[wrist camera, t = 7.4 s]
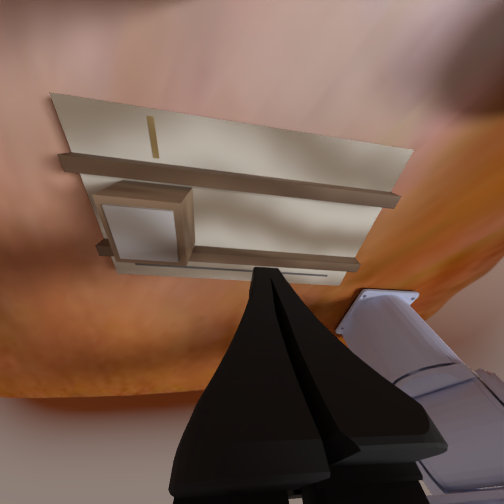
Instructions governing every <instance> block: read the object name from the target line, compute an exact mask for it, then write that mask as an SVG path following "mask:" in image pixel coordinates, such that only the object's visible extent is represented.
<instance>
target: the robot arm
mask: <svg viewBox="0 0 504 504" xmlns="http://www.w3.org/2000/svg"><path fill="white" fill-rule="evenodd" d="M418 296H419V293H418V292H416V291H397V290H378V289H363V290H362V291H361V292H360V294H359V295H358V297H357V298H356V300H355V301H354V303H353V304H352V306H351V307H350V309H349V310H348V312H347V313H346V315H345V316H344V318H343V319H342V321H341V323H340V324H339V326H338V327H337V329H336V330H335V331H336V333H337V334H342V335H343V337H344V339H345V341H346V343H347V346H348V348H347V347H346V346H345V345H344V344H343V343H342V342H341V341H340V340H338V339H337V338H336V337H335V336H334V335H333V334H332V333H331V332H330V331H329V330H328V329H327V328H326V327H325V326H324V325H323V324H322V323H321V322H320V321H319V320H318V319H317V318H316V317H315V315H314V314H313V313H312V312H311V311H310V310H309V309H308V307H307V306H306V305H305V304H304V303H303V301H302V300H301V299H300V298H299V296H298V295H297V294H296V292H295V291H294V290H293V288H292V287H291V286H290V284H289V283H288V282H287V280H286V279H285V277H284V276H283V274H282V273H281V271H280V270H279V269H278V268H270V267H254V268H253V273H252V279H251V285H250V290H249V300H248V303H247V306H246V309H245V312H244V314H243V317H242V319H241V322H240V324H239V327H238V329H237V331H236V333H235V335H234V337H233V340H232V342H231V344H230V346H229V348H228V350H227V352H226V354H225V355H224V357H223V359H222V361H221V363H220V365H219V367H218V368H217V370H216V372H215V374H214V376H213V377H212V379H211V381H210V382H209V384H208V386H207V387H206V389H205V391H204V392H203V394H202V396H201V397H200V399H199V401H198V403H197V404H196V406H195V409H194V411H193V414H192V416H191V418H190V421H189V423H188V424H187V427H186V429H185V431H184V433H183V436H182V438H181V440H180V443H179V445H178V448H177V451H176V454H175V458H174V461H173V467H172V473H171V478H170V484H169V489H168V490H169V492H170V494H171V495H172V496H173V497H174V501H173V504H289V500H288V499H294V498H302V500H303V504H504V382H503V381H502V380H501V379H500V378H499V377H498V376H497V375H496V374H495V373H492V372H489V371H485V370H484V369H482V368H479V369H477V370H475V372H476V373H477V374H478V375H477V374H476V373H475V372H474V371H472V370H471V369H470V368H469V367H468V366H467V365H465V364H464V363H463V362H462V361H461V360H460V358H459V357H457V355H456V354H455V353H454V352H453V351H452V350H451V349H450V348H449V347H448V346H447V345H446V344H445V343H444V342H443V340H442V339H441V338H440V337H439V336H438V335H437V334H436V333H435V332H434V331H433V330H432V329H431V328H430V327H429V326H428V325H427V324H426V322H425V321H424V320H423V319H422V318H421V317H420V316H419V315H418V314H417V313H416V312H415V311H414V310H413V309H412V308H411V306H410V305H411V304H412V303H413V302H414V300H415V299H416V298H417V297H418ZM418 480H423V482H424V483H425V485H426V486H427V488H428V489H429V491H430V493H431V494H432V495H429V496H426V495H425V493H424V491H423V489H422V487H421V485H420V483H419V481H418ZM494 486H501V487H494ZM485 487H492V488H485ZM480 488H483V489H480Z"/></svg>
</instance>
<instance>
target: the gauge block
mask: <svg viewBox="0 0 504 504" xmlns="http://www.w3.org/2000/svg"><path fill="white" fill-rule="evenodd" d="M92 196H93V199H94V202H95V205H96V207H97V210H98V213H99V216H100V218H101V221H102V224H103V227H104V229H105V232H106V235H107V238H108V240H109V243H110V246H111V249H112V251H113V254H114V257H115V260H116V262H124V263H140V264H157V265H173V266H187V264H188V261H189V258H190V256H191V253H192V250H193V248H194V245H195V225H194V206H193V188H192V187H183V186H174V185H165V184H156V183H147V182H139V181H130V180H121V181H119V182H117V183H115V184H113V185H111V186H109V187H107V188H105V189H102V190H100V191H98V192H96V193H94V194H92Z"/></svg>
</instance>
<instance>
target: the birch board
mask: <svg viewBox="0 0 504 504" xmlns="http://www.w3.org/2000/svg"><path fill="white" fill-rule="evenodd" d="M49 93H50V92H49ZM50 96H51V98H52V101H53V104H54V106H55V109H56V112H57V114H58V117H59V120H60V122H61V125H62V128H63V130H64V133H65V136H66V138H67V141H68V144H69V146H70V149H71V152H70V153H64V154H57V155H58V157H59V160H60V162H61V165H62V167H63V169H64V172H72V173H80V175H81V178H82V181H83V183H84V186H85V189H86V191H87V194H88V197H89V199H90V202H91V205H92V207H93V210H94V213H95V215H96V218H97V221H98V223H99V226H100V229H101V231H102V234H103V236H104V239H103V240H102V241H101V242H100V243H98V244H97V245H96V248H97V251H98V253H99V255H100V256H111V258H112V260H113V263H114V266H115V268H116V271H117V273H119V274H137V275H156V276H174V277H192V278H210V279H228V280H246V281H251V279H252V273H253V268H254V267H270V268H278V269H279V270H280V271H281V273H282V274H283V276H284V277H285V279H286V280H287V282H288V283H300V284H319V285H337V286H339V285H340V283H341V281H342V279H343V278H344V276H345V274H346V272H357V270H358V269H359V267H360V265H361V264H360V263H359V262H358V261H357V260H356V259H355V256H356V254H357V252H358V250H359V249H360V247H361V245H362V243H363V241H364V240H365V238H366V236H367V234H368V232H369V230H370V229H371V227H372V225H373V223H374V221H375V220H376V218H377V216H378V214H379V212H380V211H381V209H382V208H391V209H394V208H395V206H396V204H397V203H398V201H399V199H400V198H401V196H398V195H396V194H394V193H392V192H391V191H392V189H393V187H394V185H395V183H396V182H397V180H398V178H399V176H400V174H401V172H402V171H403V169H404V167H405V165H406V163H407V162H408V160H409V158H410V156H411V154H412V152H413V151H414V150H411V149H404V148H398V147H392V146H385V145H379V144H373V143H366V142H360V141H354V140H347V139H341V138H335V137H329V136H322V135H316V134H310V133H303V132H297V131H291V130H284V129H278V128H272V127H265V126H259V125H253V124H246V123H240V122H234V121H227V120H221V119H215V118H208V117H202V116H196V115H189V114H183V113H177V112H171V111H164V110H158V109H152V108H145V107H139V106H133V105H126V104H120V103H114V102H107V101H101V100H95V99H88V98H82V97H76V96H69V95H63V94H57V93H50ZM121 180H130V181H139V182H147V183H156V184H165V185H174V186H183V187H192V188H193V206H194V225H195V245H194V248H193V250H192V253H191V256H190V258H189V261H188V264H187V266H173V265H157V264H140V263H124V262H116V260H115V257H114V254H113V251H112V249H111V246H110V243H109V240H108V238H107V235H106V232H105V229H104V227H103V224H102V221H101V218H100V216H99V213H98V210H97V207H96V205H95V202H94V199H93V196H92V194H94V193H96V192H98V191H100V190H102V189H105V188H107V187H109V186H111V185H113V184H115V183H117V182H119V181H121Z"/></svg>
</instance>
